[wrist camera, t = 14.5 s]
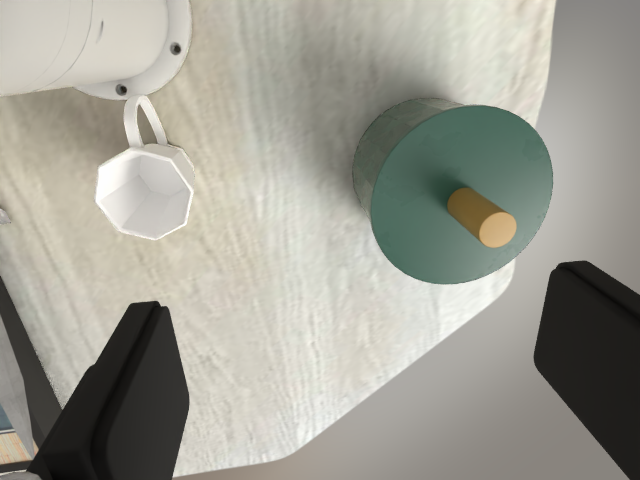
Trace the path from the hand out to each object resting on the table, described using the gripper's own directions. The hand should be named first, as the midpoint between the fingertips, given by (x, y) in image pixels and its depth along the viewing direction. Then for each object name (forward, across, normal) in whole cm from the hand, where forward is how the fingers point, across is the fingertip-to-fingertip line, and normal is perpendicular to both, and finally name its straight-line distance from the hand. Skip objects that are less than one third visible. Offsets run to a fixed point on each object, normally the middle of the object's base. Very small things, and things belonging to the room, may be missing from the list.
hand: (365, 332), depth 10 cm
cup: (+29, +12, +1) cm, 32 cm away
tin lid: (+20, -11, +4) cm, 23 cm away
